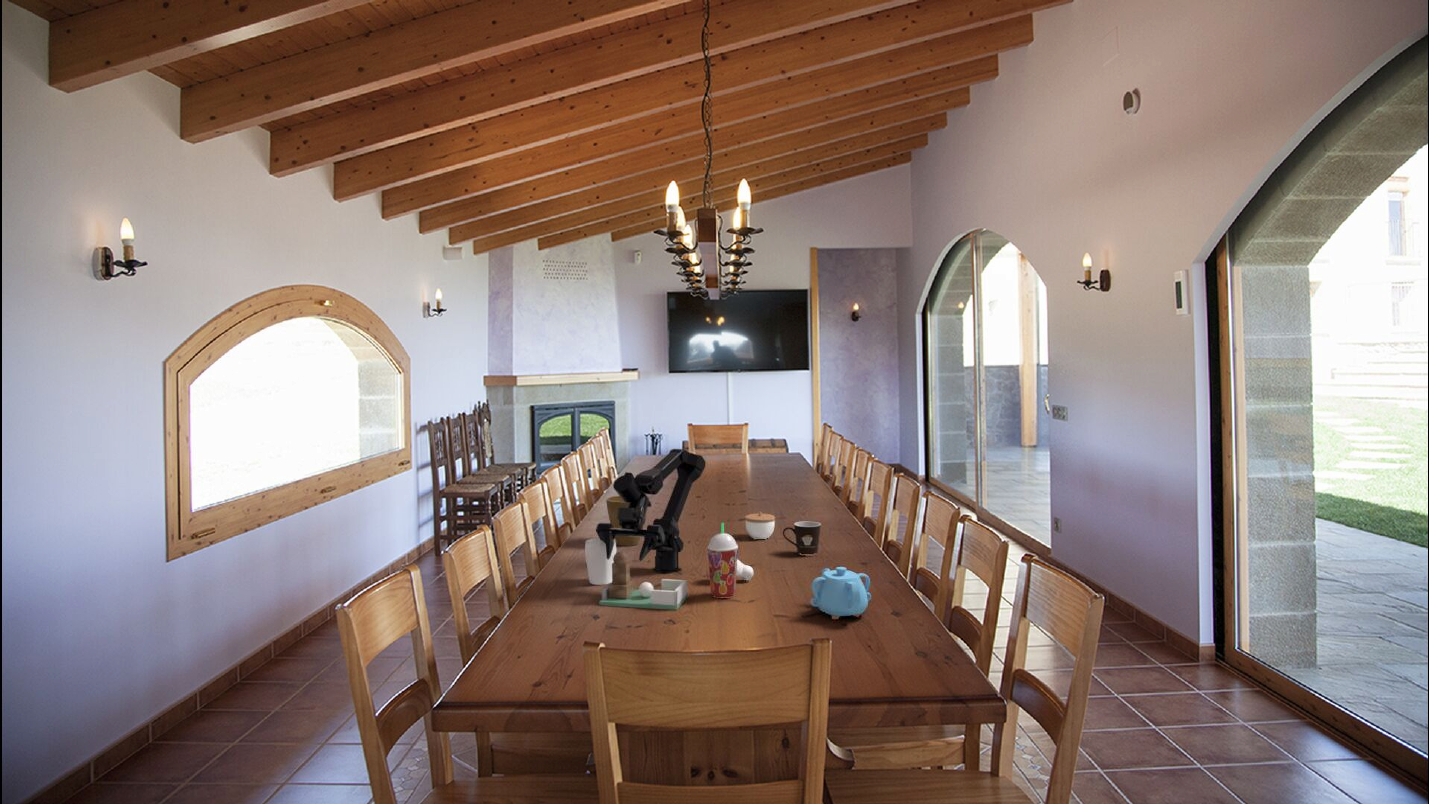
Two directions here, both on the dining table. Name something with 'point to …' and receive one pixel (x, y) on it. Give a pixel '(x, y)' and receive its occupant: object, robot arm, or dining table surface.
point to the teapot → (841, 592)
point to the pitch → (651, 597)
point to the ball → (645, 589)
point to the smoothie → (722, 564)
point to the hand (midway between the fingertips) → (623, 559)
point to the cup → (599, 561)
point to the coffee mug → (806, 536)
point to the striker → (621, 577)
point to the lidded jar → (760, 525)
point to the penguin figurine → (744, 571)
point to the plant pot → (612, 508)
